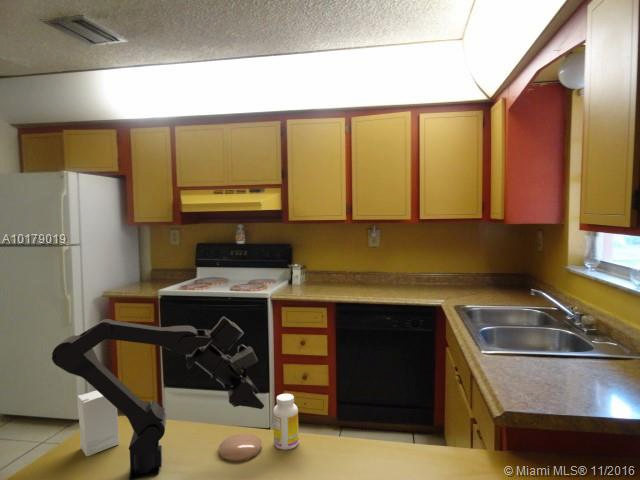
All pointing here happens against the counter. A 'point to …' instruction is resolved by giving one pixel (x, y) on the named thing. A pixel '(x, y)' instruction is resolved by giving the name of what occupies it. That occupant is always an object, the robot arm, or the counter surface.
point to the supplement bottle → (285, 422)
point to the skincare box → (97, 423)
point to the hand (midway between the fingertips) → (260, 399)
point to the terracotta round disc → (240, 447)
